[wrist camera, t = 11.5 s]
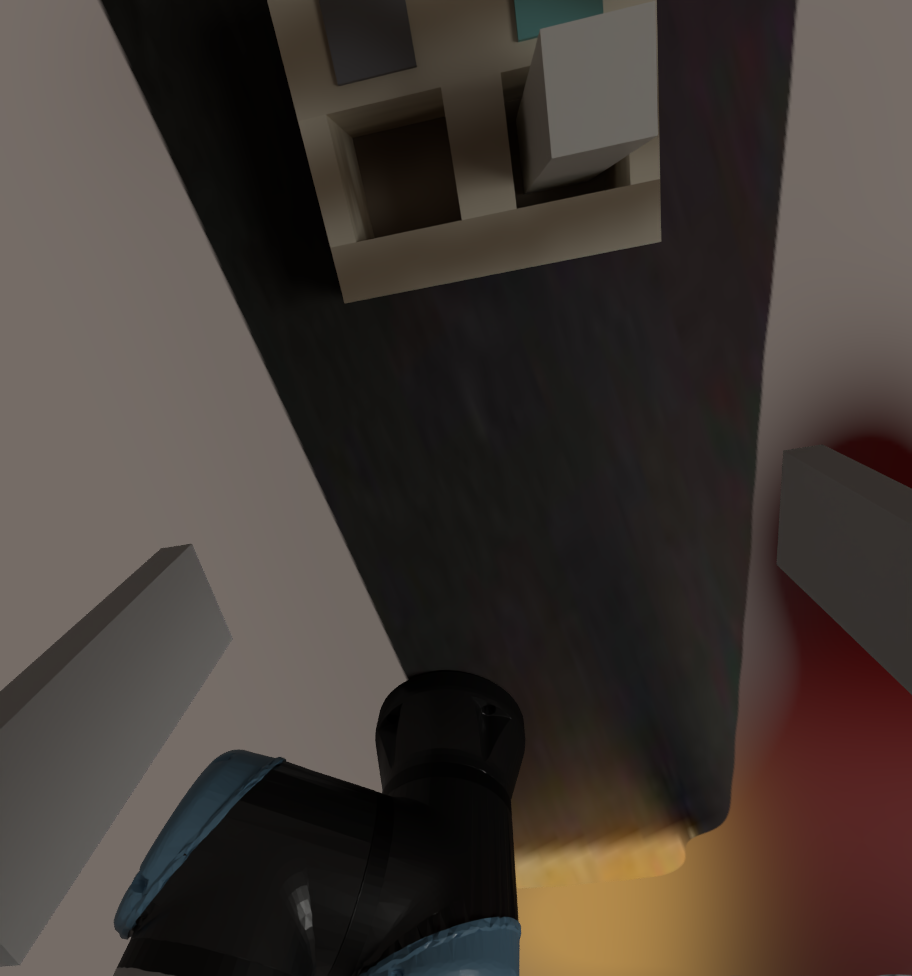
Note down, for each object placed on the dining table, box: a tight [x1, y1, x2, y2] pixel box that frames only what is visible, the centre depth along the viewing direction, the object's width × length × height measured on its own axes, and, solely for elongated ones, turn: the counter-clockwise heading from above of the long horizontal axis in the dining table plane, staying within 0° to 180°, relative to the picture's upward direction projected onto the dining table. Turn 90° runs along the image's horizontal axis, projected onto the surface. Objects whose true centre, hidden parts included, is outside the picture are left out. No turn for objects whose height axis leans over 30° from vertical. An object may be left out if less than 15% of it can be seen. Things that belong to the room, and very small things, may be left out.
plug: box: [516, 1, 658, 195], centre depth 25 cm, size 4×4×14 cm
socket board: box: [267, 0, 661, 303], centre depth 29 cm, size 15×18×7 cm
